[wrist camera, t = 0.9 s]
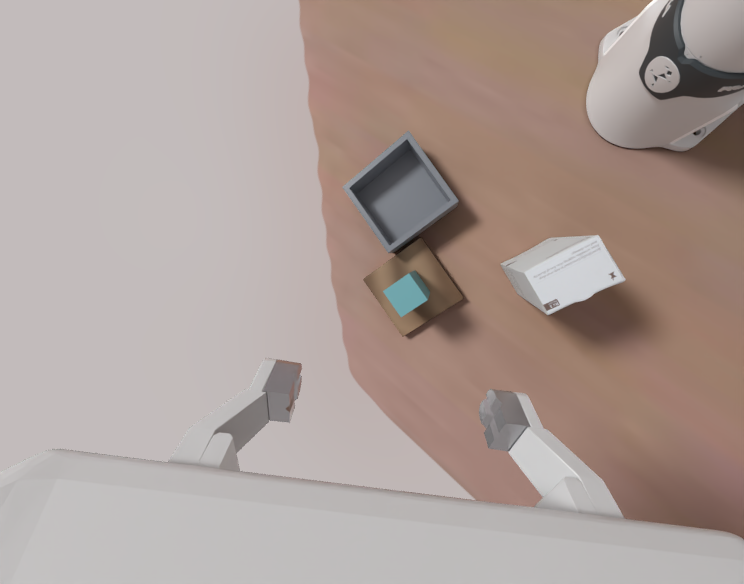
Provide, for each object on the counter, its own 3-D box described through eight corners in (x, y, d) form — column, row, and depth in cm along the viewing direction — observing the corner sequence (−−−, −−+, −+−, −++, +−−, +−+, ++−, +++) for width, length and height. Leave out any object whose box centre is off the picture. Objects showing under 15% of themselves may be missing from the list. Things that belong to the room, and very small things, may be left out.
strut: (414, 270, 47) (408, 273, 39) (430, 292, 47) (427, 300, 39) (393, 285, 49) (382, 291, 40) (408, 306, 48) (401, 317, 40)
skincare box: (549, 237, 44) (602, 228, 29) (569, 271, 44) (632, 279, 29) (496, 265, 46) (522, 269, 31) (516, 298, 46) (550, 317, 31)
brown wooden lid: (421, 237, 48) (419, 235, 43) (463, 297, 48) (465, 301, 43) (365, 278, 51) (357, 281, 46) (403, 334, 51) (399, 342, 46)
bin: (411, 143, 47) (408, 130, 42) (456, 206, 46) (458, 201, 41) (351, 193, 50) (342, 187, 45) (393, 253, 49) (388, 252, 45)
